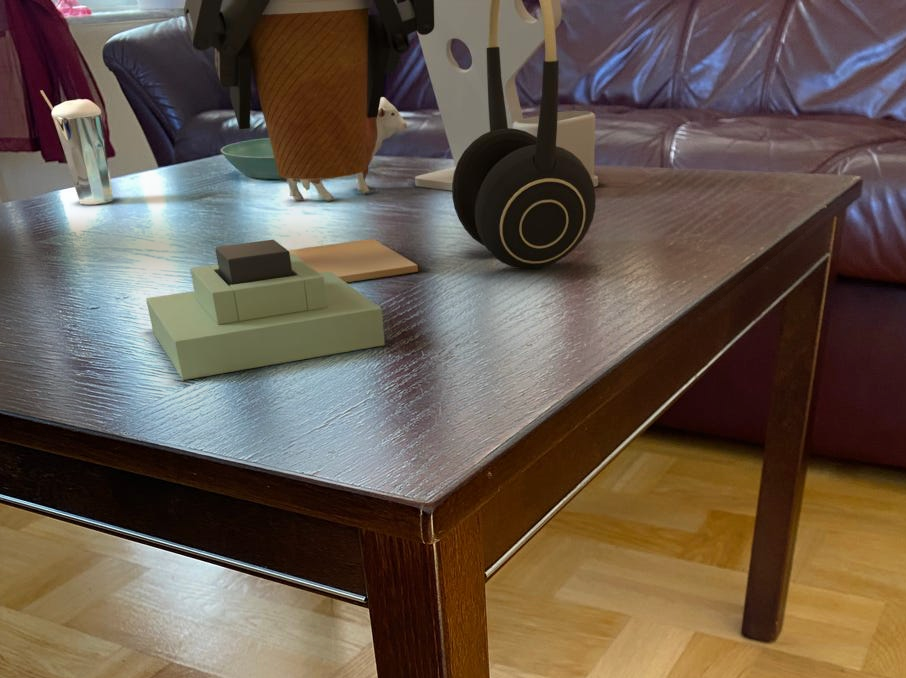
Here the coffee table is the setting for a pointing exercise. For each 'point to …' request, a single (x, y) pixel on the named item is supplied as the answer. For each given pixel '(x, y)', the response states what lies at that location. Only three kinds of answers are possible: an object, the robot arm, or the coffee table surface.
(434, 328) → the coffee table surface
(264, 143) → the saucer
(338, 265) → the coaster
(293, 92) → the disposable coffee cup
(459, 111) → the phone holder
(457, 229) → the coffee table surface
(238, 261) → the key
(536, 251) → the headphones
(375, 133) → the bull figurine
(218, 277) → the tiered green pedestal
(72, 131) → the milkshake
